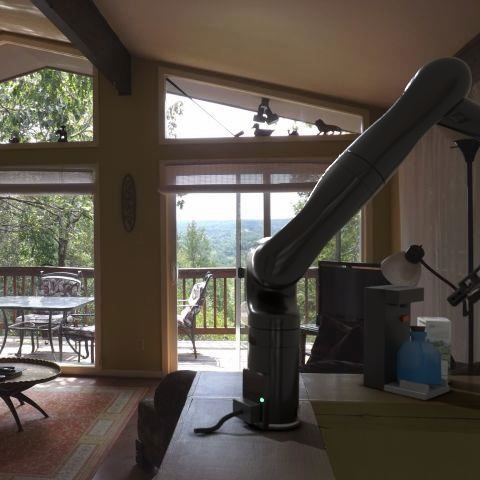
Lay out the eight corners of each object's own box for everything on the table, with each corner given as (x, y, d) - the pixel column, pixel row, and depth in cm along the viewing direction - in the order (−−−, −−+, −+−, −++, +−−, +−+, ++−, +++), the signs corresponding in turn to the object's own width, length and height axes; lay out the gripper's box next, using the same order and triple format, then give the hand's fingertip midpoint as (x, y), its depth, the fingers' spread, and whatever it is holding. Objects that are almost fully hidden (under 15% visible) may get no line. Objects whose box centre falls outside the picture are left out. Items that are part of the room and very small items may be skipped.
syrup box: (440, 377, 137) (441, 316, 136) (450, 383, 131) (451, 320, 130) (415, 376, 137) (416, 315, 137) (424, 382, 131) (425, 319, 131)
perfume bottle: (397, 381, 125) (396, 325, 127) (416, 381, 128) (414, 326, 130) (422, 383, 119) (421, 325, 122) (441, 383, 122) (439, 327, 124)
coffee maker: (425, 400, 117) (426, 293, 117) (363, 385, 128) (364, 287, 128) (449, 391, 124) (451, 290, 124) (389, 378, 135) (390, 284, 135)
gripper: (524, 232, 113) (462, 286, 122) (494, 232, 104) (430, 289, 113) (554, 261, 109) (488, 313, 118) (526, 262, 100) (457, 319, 109)
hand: (460, 301), depth 116 cm, fingers open, 8 cm apart
